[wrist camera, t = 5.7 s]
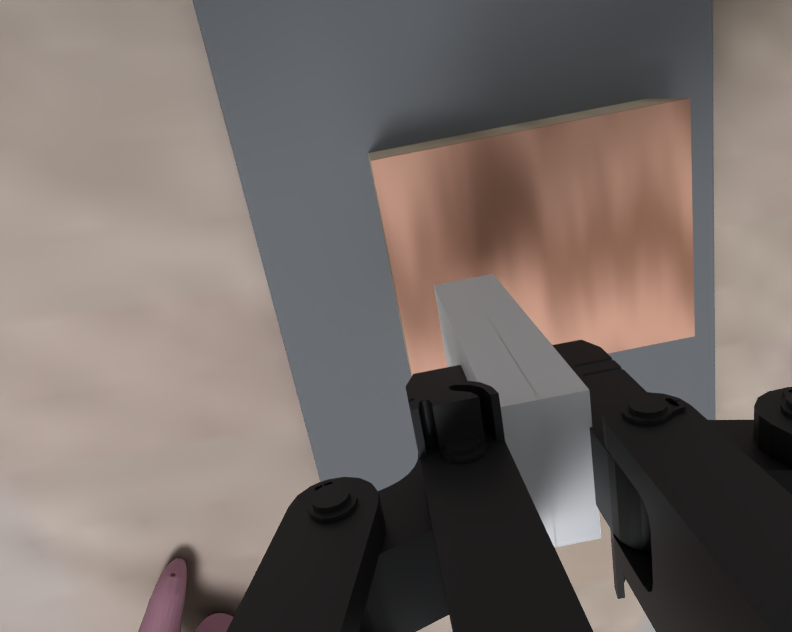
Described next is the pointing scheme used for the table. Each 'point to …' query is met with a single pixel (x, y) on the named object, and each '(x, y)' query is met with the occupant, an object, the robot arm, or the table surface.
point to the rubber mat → (415, 123)
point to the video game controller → (176, 604)
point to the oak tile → (549, 225)
